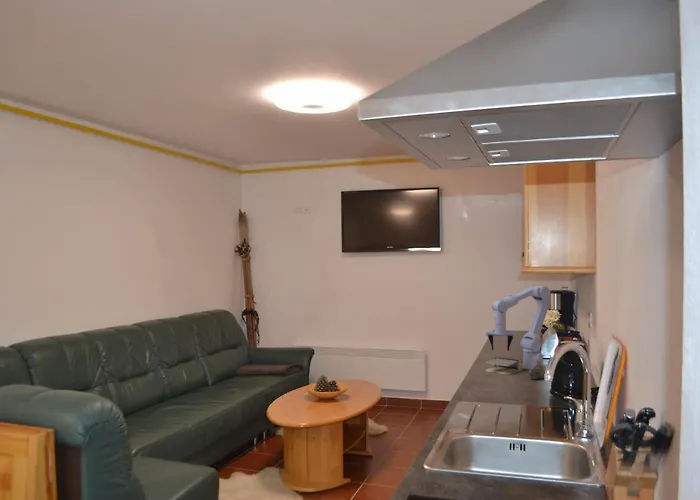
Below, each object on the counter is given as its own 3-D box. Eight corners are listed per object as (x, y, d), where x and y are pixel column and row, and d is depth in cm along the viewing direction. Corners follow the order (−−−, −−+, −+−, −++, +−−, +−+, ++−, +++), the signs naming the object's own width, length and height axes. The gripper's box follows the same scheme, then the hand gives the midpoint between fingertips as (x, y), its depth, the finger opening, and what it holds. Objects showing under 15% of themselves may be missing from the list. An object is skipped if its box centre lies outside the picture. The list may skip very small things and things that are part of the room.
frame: (522, 370, 280) (522, 359, 280) (511, 375, 270) (511, 363, 270) (493, 366, 290) (493, 356, 290) (482, 370, 281) (482, 359, 281)
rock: (539, 358, 267) (553, 375, 262) (531, 365, 271) (544, 382, 266) (527, 362, 260) (541, 380, 255) (519, 369, 263) (532, 387, 258)
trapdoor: (523, 367, 284) (523, 358, 284) (508, 373, 271) (508, 364, 271) (500, 364, 293) (500, 355, 293) (485, 369, 279) (485, 361, 279)
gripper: (514, 323, 284) (514, 349, 284) (485, 322, 287) (485, 348, 287) (515, 325, 277) (515, 351, 277) (485, 324, 280) (486, 350, 280)
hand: (500, 350), depth 281 cm, fingers open, 7 cm apart
